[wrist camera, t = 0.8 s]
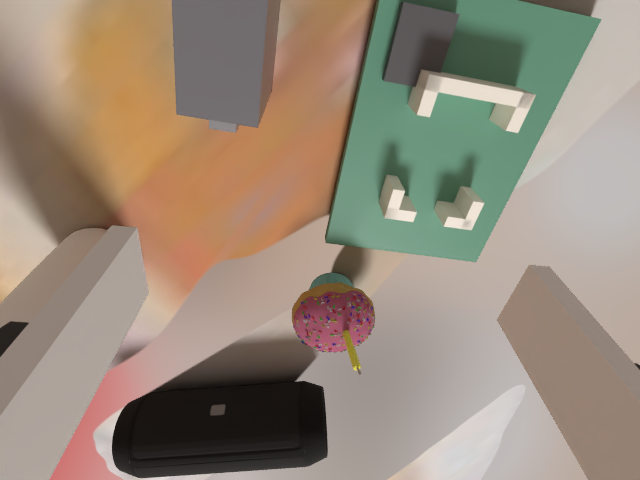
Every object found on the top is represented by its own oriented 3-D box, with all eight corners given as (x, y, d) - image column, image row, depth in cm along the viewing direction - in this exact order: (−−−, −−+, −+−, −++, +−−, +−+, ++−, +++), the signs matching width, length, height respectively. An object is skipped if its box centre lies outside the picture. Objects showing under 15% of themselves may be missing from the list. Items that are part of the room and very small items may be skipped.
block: (216, -47, 24) (168, -71, 16) (283, -32, 25) (271, -48, 16) (214, 93, 29) (177, 132, 21) (270, 103, 30) (256, 144, 21)
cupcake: (346, 246, 38) (360, 336, 28) (381, 297, 42) (405, 391, 32) (278, 281, 40) (269, 375, 30) (318, 326, 44) (322, 421, 34)
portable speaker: (321, 363, 48) (324, 439, 40) (325, 406, 54) (329, 480, 45) (132, 377, 49) (96, 455, 40) (156, 418, 54) (128, 494, 46)
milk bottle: (49, 232, 36) (-178, 437, 19) (122, 218, 35) (-44, 417, 18) (90, 290, 40) (-65, 499, 23) (157, 278, 39) (47, 485, 23)
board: (383, -29, 25) (395, -33, 21) (590, 18, 27) (633, 21, 23) (325, 236, 37) (327, 261, 33) (471, 255, 39) (488, 280, 35)
